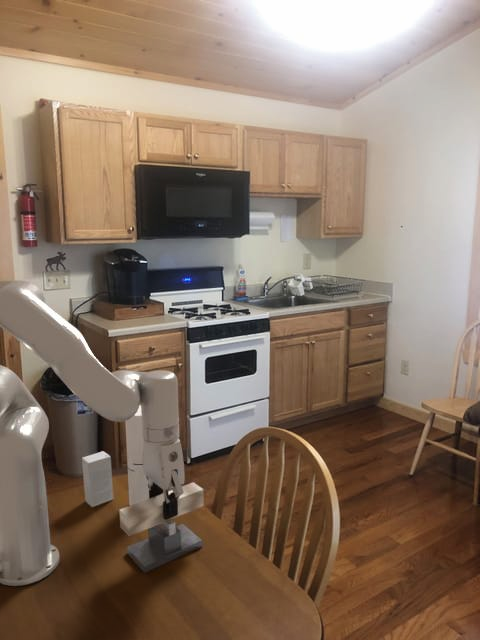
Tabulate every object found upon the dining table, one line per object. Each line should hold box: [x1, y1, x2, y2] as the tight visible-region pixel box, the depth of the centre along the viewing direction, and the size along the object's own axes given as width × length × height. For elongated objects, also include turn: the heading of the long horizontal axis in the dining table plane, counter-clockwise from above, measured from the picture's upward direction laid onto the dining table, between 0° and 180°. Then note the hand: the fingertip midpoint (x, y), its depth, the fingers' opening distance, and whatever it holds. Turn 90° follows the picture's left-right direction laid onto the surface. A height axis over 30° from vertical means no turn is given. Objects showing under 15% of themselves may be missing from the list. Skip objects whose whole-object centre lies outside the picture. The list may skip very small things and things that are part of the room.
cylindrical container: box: [124, 405, 150, 506], centre depth 128 cm, size 7×7×25 cm
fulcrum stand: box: [126, 519, 203, 574], centre depth 112 cm, size 14×8×8 cm, turn 128°
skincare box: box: [81, 450, 114, 508], centre depth 131 cm, size 6×4×12 cm
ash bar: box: [119, 481, 205, 537], centre depth 111 cm, size 18×4×4 cm, turn 128°
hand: (163, 510), depth 111 cm, fingers open, 5 cm apart
